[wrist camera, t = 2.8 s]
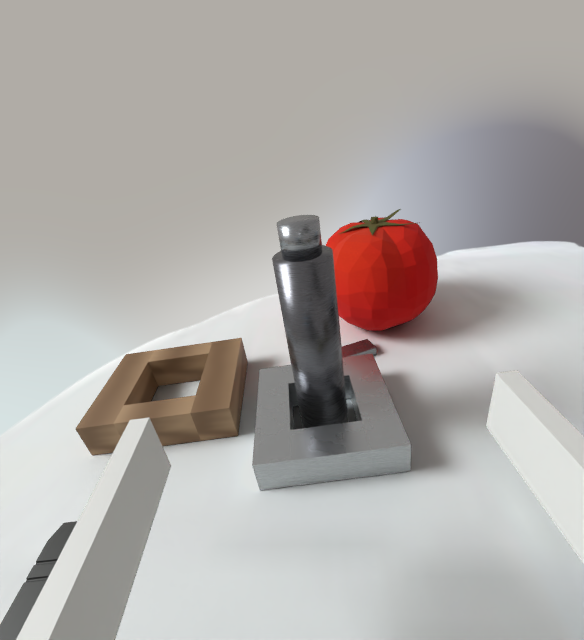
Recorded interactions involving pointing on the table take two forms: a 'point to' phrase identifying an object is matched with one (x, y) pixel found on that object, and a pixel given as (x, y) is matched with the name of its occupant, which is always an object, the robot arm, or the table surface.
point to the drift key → (358, 349)
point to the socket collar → (328, 431)
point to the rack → (171, 414)
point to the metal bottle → (311, 320)
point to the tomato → (383, 272)
